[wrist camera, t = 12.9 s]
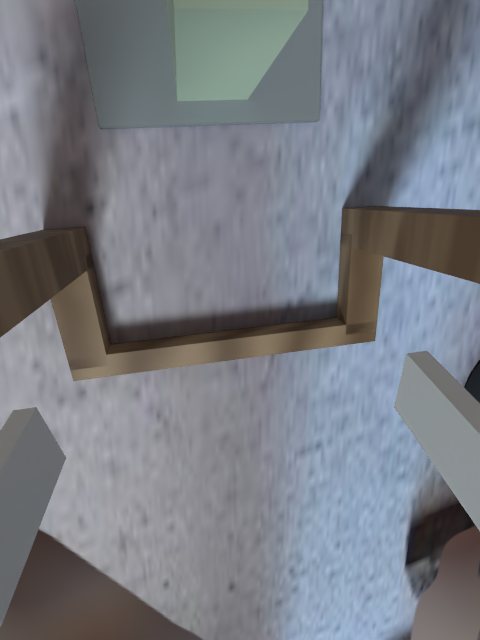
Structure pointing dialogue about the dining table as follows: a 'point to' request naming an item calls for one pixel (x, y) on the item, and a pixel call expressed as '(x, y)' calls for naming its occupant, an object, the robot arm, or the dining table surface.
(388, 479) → the dining table surface
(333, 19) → the dining table surface
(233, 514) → the dining table surface
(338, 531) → the dining table surface
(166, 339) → the frame
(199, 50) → the tall green square pillar
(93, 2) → the mat
